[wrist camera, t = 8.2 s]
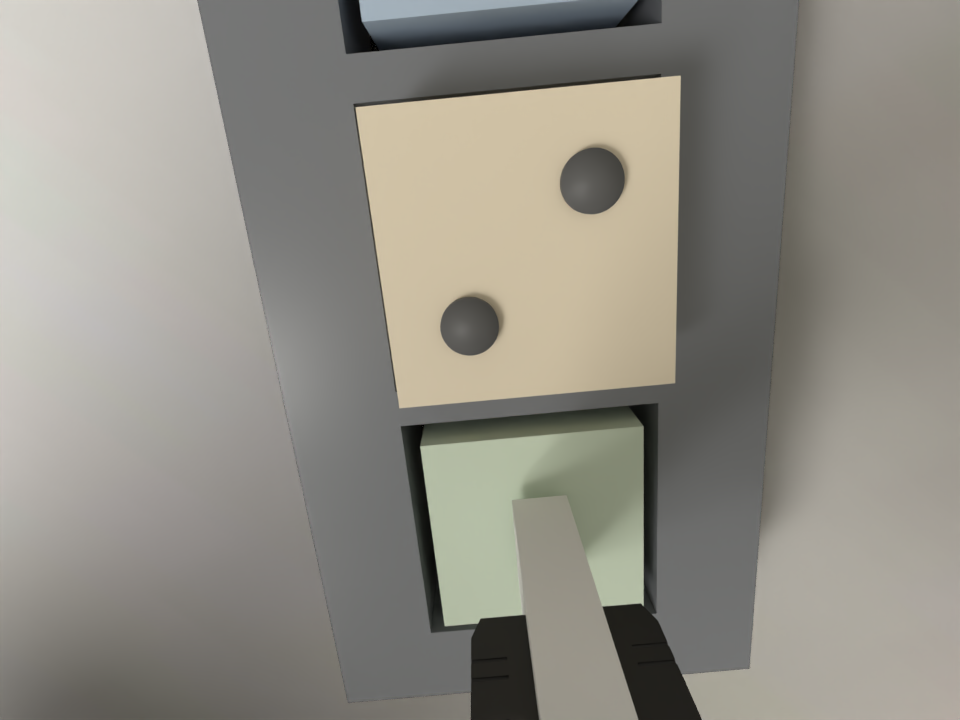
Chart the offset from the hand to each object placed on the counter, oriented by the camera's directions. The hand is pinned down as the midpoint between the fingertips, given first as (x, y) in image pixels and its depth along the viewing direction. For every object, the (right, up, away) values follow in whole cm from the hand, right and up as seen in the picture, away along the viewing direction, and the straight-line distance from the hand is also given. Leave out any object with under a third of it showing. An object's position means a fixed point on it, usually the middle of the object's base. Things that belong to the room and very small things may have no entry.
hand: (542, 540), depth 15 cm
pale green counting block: (0, +1, +4) cm, 4 cm away
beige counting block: (-1, +8, 0) cm, 8 cm away
